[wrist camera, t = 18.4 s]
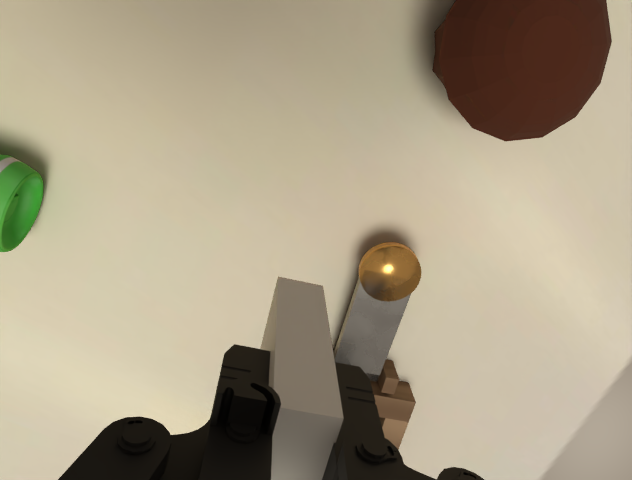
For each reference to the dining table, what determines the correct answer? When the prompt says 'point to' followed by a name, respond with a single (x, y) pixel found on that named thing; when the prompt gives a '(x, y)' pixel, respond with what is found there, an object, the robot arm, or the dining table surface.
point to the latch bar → (377, 306)
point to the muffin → (521, 62)
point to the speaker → (17, 201)
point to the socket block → (393, 403)
